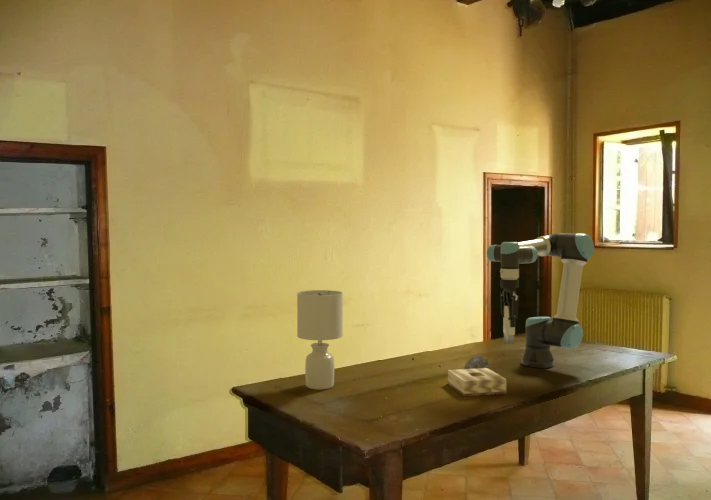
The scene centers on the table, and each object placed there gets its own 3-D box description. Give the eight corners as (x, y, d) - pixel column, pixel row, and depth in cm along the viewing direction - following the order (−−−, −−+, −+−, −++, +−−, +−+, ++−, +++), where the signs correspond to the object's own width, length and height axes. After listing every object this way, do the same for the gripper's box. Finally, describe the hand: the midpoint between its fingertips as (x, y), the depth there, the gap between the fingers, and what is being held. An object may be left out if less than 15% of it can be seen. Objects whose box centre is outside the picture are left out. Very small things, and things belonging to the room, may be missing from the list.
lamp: (307, 395, 227) (307, 296, 226) (290, 383, 244) (290, 291, 242) (350, 389, 236) (350, 294, 234) (330, 378, 253) (330, 289, 251)
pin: (511, 342, 246) (511, 305, 245) (515, 344, 242) (515, 306, 241) (502, 342, 245) (502, 305, 244) (506, 344, 241) (506, 306, 240)
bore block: (487, 381, 248) (487, 368, 247) (506, 393, 230) (506, 379, 230) (447, 383, 244) (447, 369, 244) (463, 396, 227) (463, 381, 226)
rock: (491, 366, 263) (485, 349, 260) (489, 382, 255) (483, 365, 251) (468, 369, 268) (462, 352, 264) (466, 384, 260) (459, 367, 256)
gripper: (492, 276, 250) (492, 330, 251) (510, 280, 233) (509, 338, 234) (508, 276, 251) (508, 329, 252) (527, 280, 235) (526, 337, 236)
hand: (508, 333), depth 243 cm, fingers closed on pin, 4 cm apart
